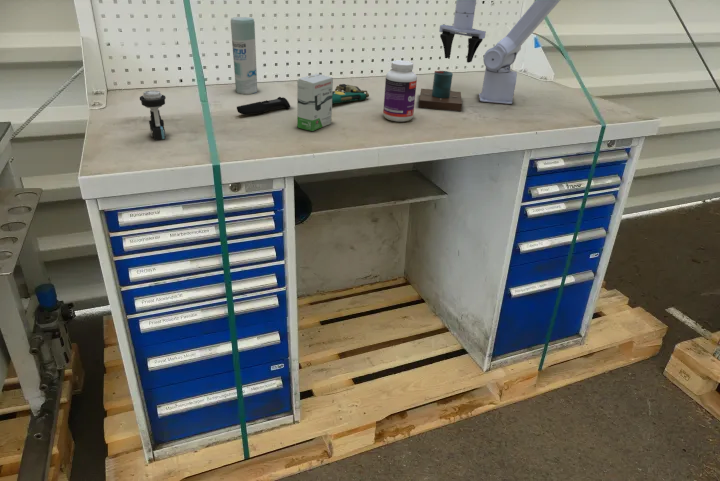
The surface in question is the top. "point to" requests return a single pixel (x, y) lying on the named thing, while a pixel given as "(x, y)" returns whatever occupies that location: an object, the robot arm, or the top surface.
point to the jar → (442, 84)
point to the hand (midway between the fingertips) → (458, 59)
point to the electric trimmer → (263, 106)
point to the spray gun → (348, 94)
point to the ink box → (314, 101)
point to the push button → (154, 112)
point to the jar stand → (440, 101)
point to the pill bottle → (400, 92)
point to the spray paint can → (244, 54)
